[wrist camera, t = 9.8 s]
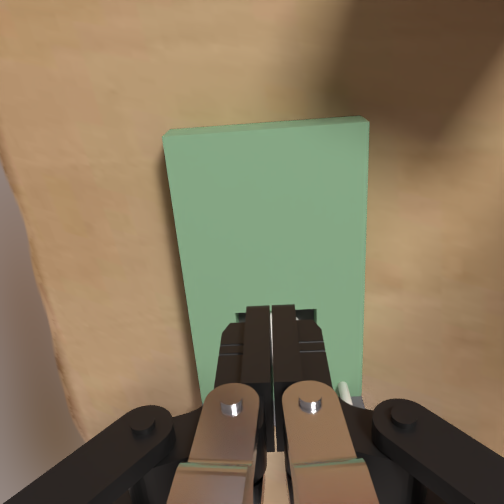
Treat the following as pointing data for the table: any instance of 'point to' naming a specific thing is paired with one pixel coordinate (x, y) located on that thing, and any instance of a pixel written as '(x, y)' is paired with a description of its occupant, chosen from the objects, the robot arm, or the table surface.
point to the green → (274, 232)
